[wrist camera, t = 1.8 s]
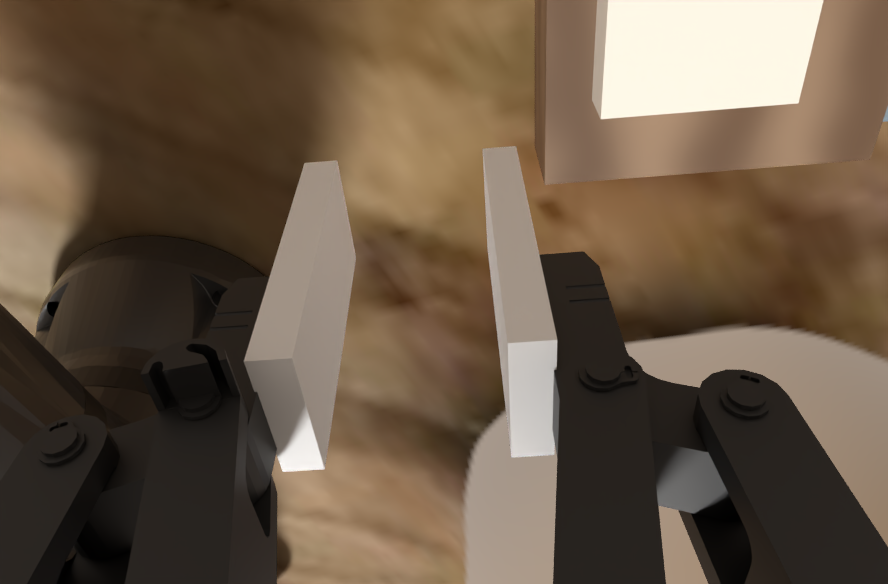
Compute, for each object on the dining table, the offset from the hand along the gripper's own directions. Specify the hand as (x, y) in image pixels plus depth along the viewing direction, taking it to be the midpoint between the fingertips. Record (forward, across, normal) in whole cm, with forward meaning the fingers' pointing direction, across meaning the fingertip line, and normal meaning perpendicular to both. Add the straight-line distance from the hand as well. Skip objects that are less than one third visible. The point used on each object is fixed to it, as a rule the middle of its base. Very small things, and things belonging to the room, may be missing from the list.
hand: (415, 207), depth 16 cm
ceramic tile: (+15, -11, 0) cm, 18 cm away
